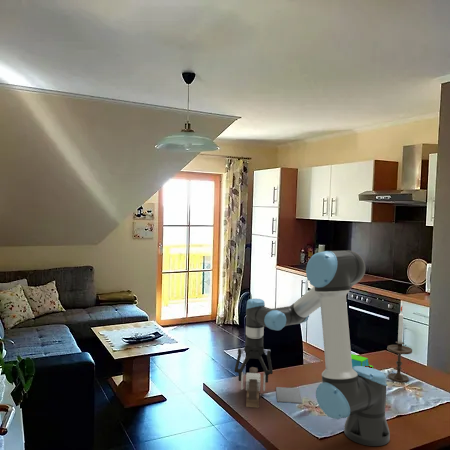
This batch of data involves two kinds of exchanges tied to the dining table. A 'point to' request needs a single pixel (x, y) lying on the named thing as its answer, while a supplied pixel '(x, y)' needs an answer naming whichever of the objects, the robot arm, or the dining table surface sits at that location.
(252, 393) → the plane body
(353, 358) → the toy block
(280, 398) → the grey mat
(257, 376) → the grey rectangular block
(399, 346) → the candlestick
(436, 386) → the dining table surface
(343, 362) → the robot arm
